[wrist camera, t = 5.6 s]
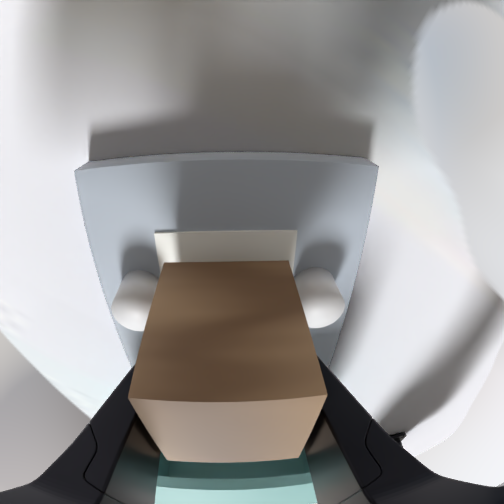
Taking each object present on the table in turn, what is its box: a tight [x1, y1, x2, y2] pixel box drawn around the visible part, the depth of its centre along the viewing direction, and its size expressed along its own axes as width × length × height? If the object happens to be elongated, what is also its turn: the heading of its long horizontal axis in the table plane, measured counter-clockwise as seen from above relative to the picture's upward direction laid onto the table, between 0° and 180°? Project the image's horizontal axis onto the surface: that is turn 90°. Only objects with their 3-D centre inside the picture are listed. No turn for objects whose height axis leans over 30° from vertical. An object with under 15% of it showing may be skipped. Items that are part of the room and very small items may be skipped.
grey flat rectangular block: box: [74, 152, 379, 368], centre depth 15 cm, size 10×25×3 cm, turn 179°
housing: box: [155, 448, 317, 504], centre depth 15 cm, size 11×8×6 cm
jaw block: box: [128, 260, 328, 463], centre depth 8 cm, size 4×4×5 cm
